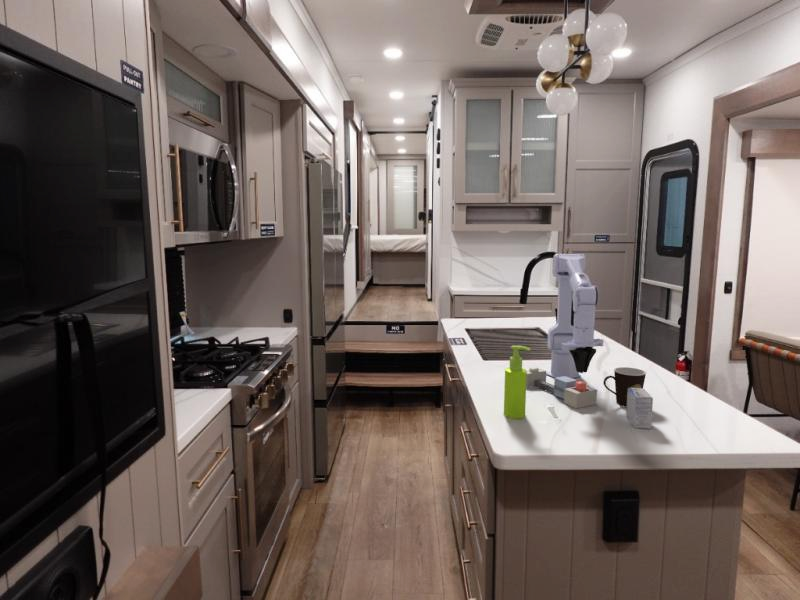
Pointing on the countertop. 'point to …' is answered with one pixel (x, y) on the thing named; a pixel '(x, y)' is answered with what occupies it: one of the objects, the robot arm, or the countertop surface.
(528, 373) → the cabinet
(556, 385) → the carriage
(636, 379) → the coffee mug
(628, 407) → the medicine box
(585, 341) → the robot arm
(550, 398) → the countertop surface
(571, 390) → the cabinet
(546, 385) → the rail
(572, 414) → the countertop surface
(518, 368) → the soap dispenser
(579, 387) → the red rounded piece
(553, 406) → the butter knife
